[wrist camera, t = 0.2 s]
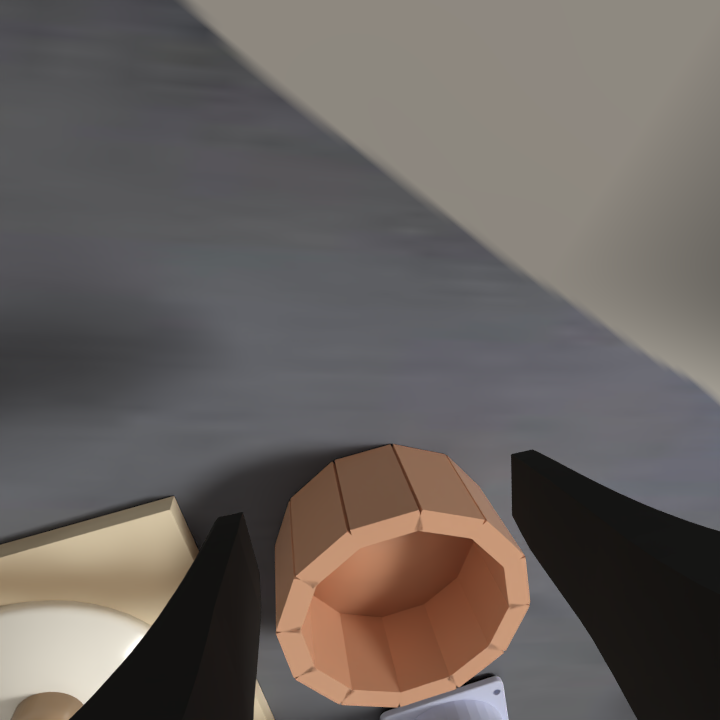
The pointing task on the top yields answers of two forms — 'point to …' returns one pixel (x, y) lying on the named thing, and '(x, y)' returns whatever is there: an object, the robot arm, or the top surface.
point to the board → (108, 565)
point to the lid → (59, 655)
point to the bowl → (394, 579)
